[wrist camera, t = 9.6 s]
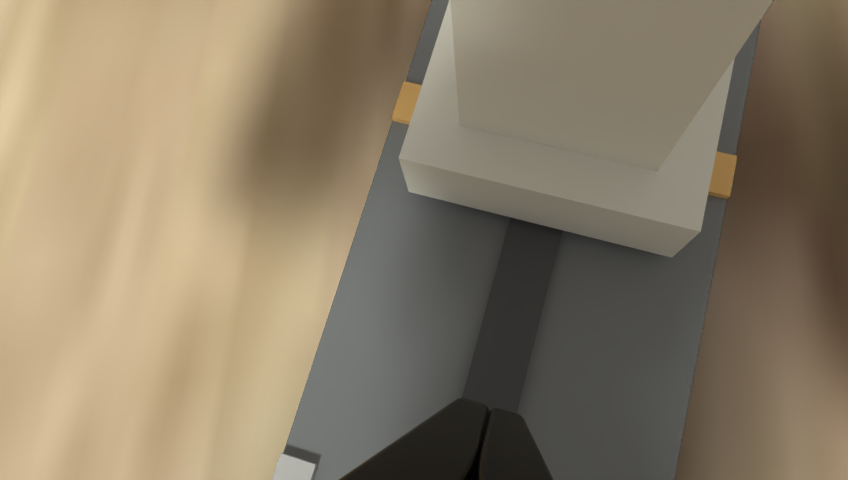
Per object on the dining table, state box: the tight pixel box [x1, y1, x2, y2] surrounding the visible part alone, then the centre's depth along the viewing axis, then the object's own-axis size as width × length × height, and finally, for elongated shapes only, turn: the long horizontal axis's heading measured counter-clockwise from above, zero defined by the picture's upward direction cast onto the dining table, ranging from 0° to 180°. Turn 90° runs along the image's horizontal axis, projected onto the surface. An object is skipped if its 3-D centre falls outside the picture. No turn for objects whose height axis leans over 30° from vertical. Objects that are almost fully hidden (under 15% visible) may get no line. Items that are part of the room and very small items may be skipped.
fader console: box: [272, 0, 761, 480], centre depth 16 cm, size 18×8×2 cm, turn 164°
